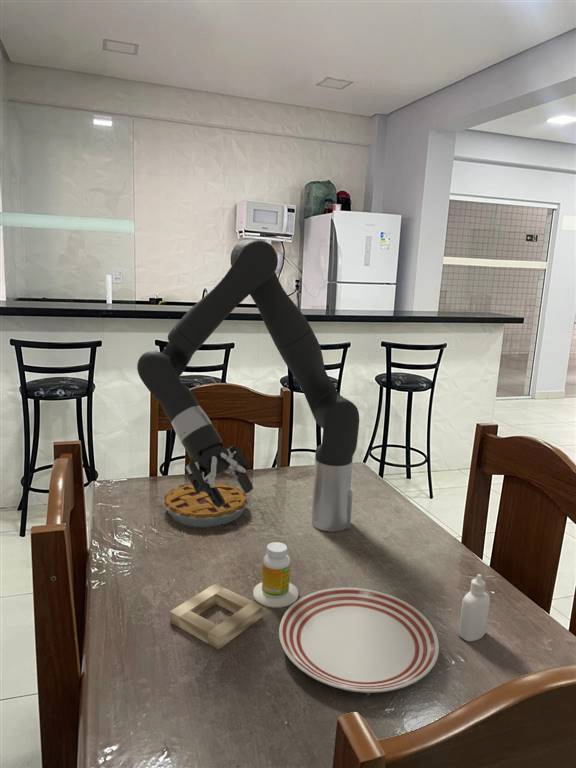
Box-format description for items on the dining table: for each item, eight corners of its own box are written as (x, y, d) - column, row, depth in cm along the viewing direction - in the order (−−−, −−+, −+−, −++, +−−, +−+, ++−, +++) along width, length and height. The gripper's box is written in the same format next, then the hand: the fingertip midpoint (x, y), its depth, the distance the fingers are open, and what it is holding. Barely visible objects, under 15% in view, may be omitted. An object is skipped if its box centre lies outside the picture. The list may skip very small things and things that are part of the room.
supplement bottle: (285, 601, 114) (287, 555, 112) (258, 596, 115) (260, 551, 113) (291, 586, 119) (293, 542, 117) (265, 582, 120) (267, 538, 118)
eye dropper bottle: (452, 627, 109) (459, 568, 106) (481, 626, 110) (488, 568, 107) (462, 642, 105) (469, 582, 102) (492, 641, 105) (500, 581, 103)
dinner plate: (402, 734, 84) (404, 714, 84) (247, 660, 98) (247, 642, 97) (457, 635, 107) (459, 619, 106) (325, 586, 121) (326, 572, 120)
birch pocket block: (214, 593, 116) (215, 583, 116) (262, 616, 110) (262, 606, 109) (169, 622, 107) (169, 611, 106) (218, 649, 100) (218, 638, 100)
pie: (147, 507, 155) (147, 489, 153) (217, 488, 169) (217, 472, 167) (191, 539, 138) (191, 519, 137) (264, 516, 152) (264, 498, 151)
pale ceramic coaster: (294, 581, 122) (294, 578, 122) (302, 606, 113) (302, 603, 113) (251, 583, 121) (251, 580, 120) (255, 609, 112) (255, 606, 112)
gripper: (179, 432, 116) (221, 502, 113) (228, 415, 127) (268, 479, 124) (162, 450, 121) (202, 518, 117) (211, 432, 132) (249, 494, 128)
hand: (236, 498), depth 120 cm, fingers open, 8 cm apart
